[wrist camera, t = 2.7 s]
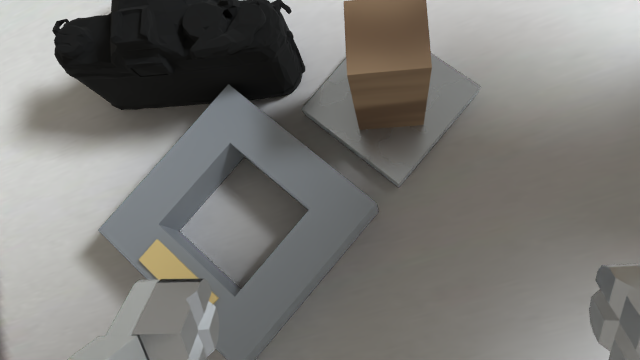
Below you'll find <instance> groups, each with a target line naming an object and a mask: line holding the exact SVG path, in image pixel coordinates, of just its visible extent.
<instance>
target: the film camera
mask: <svg viewBox="0 0 640 360" xmlns="http://www.w3.org/2000/svg"><path fill="white" fill-rule="evenodd" d="M281 7H282V8H283V9H285V10H286V12H287V13H288V14H290V13H291V9H290V7H288V6H287V5H285V4H284V3H283V2H282V1H281V0H276V1H274V2H272V3H270V2H269V1H267V0H243V1H238V0H112V6H111V13H110V14H109V15H103V16H94V17H88V18H77V19H75V20H72V21H70V22H69V21H68V19H64V20H60V21H57V22H56V24H55V26H54V28H53V30H52V31H53V33H54V34H55V36H56V37H55V40H54V43H55V46H56V47H55V57H56V58H57V60H58V62H59V64H60V65H61V66H62V67H63V68H64V70H65V71H66V73H67V74H69V75H70V76H72V77H74V78H76V79H77V80H79V81H80V82H81V83H83V84H84V85H86V86H87V87H89V88H90V89H92V90H93V91H94V92H96V93H97V94H99V95H100V96H102V97H103V98H104V99H106V100H107V101H108V102H110V103H111V104H112V105H113V106H115V107H117V108H119V109H121V110H124V109H142V108H159V107H169V106H183V105H196V104H210V103H212V102H213V101H214V100H215V99H216V98H217V97H218V95H219V94H220V93H221V92H222V91H223V90H224V89H225V88H226V86H227V85H228V84H229V85H230V86H231V87H233V88H234V89H235V90H236V91H238V92H239V93H240V94H241V95H243V96H244V97H245V98H246V99H248V100H253V99H262V98H270V97H277V96H283V95H287V94H290V93H292V92H293V91H294V90H295V89H296V88H297V87H298V85H299V84H300V82H301V78H302V73H303V72H305V66H304V63H303V61H302V58H301V56H300V53H299V50H298V48H297V46H296V44H295V42H294V40H293V34H292V32H291V31H290V30H289V28H288V26H287V25H286V22H285V20H284V18H283V16H282V14H281V12H280V9H281ZM64 22H66V23H65V24H64V25H63V27H62V28H61V29H60V28H59V27H60V26H61V25H62V24H63V23H64Z"/></svg>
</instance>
